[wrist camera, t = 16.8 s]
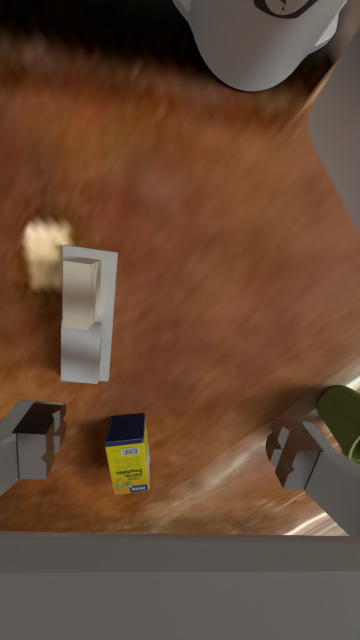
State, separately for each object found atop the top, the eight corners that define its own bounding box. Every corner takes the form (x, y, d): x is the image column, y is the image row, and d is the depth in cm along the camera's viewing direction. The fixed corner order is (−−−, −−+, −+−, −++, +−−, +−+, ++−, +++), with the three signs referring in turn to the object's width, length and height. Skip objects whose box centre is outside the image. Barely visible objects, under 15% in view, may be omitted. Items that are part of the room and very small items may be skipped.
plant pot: (317, 437, 49) (361, 494, 38) (294, 394, 45) (337, 442, 34) (373, 409, 48) (435, 458, 37) (355, 362, 44) (419, 402, 33)
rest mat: (65, 244, 34) (62, 245, 33) (117, 252, 35) (116, 252, 34) (64, 374, 40) (61, 377, 39) (108, 378, 41) (107, 381, 40)
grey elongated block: (71, 255, 34) (53, 259, 28) (109, 260, 34) (99, 265, 29) (69, 368, 39) (54, 390, 33) (102, 371, 39) (93, 393, 34)
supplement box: (103, 442, 38) (113, 496, 41) (143, 438, 38) (150, 491, 41) (110, 416, 43) (118, 464, 47) (145, 412, 44) (150, 461, 47)
